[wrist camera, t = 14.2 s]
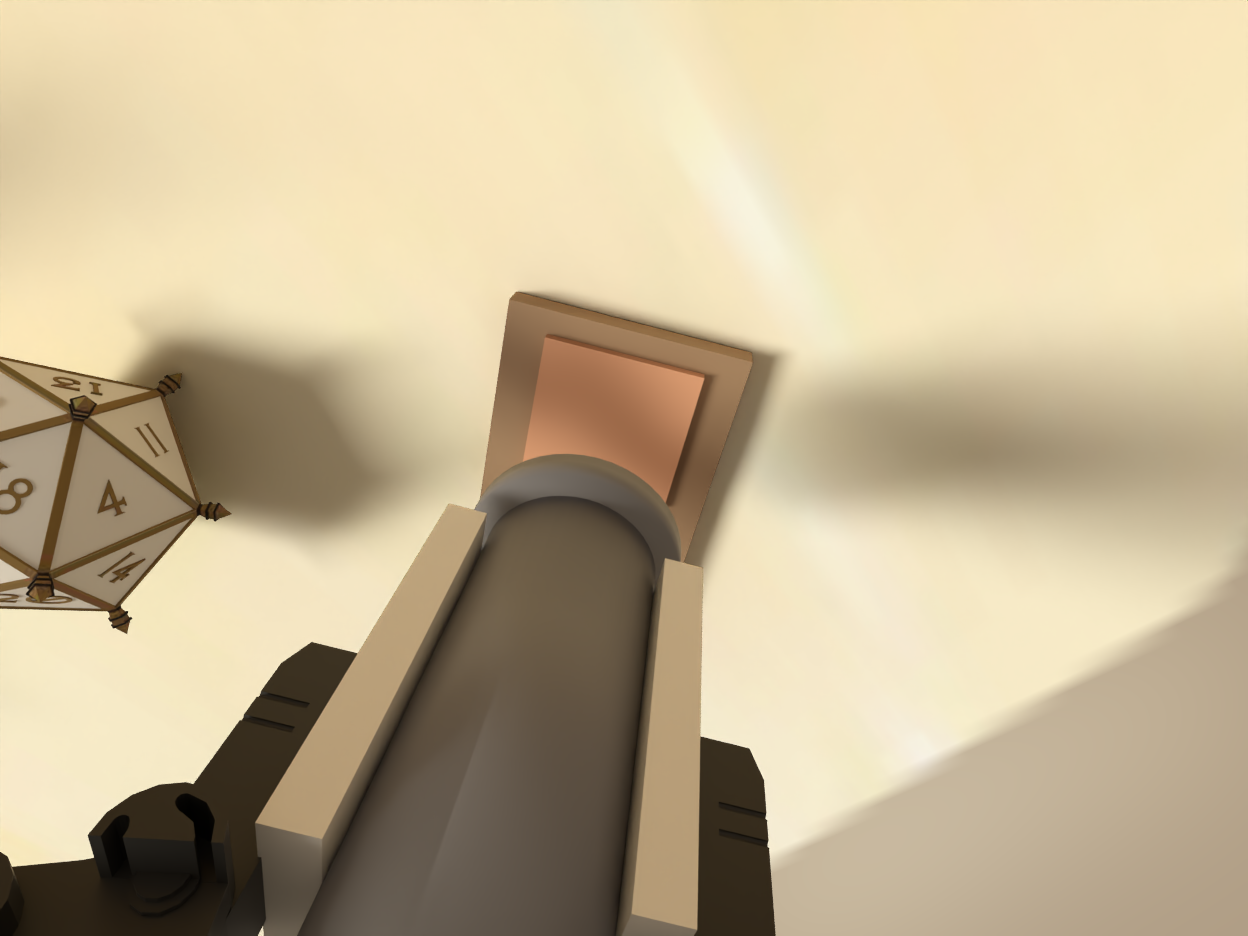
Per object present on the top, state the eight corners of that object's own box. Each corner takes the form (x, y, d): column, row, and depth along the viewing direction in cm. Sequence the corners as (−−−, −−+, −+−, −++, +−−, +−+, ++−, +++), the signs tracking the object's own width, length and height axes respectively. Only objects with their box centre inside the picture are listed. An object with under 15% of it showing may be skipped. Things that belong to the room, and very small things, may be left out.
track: (601, 791, 31) (597, 814, 30) (446, 753, 30) (437, 775, 29) (751, 352, 20) (753, 366, 19) (516, 291, 20) (506, 302, 19)
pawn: (652, 646, 16) (548, 1641, 6) (461, 598, 16) (21, 1527, 6) (708, 486, 14) (699, 1661, 4) (486, 429, 14) (-169, 1471, 4)
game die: (256, 381, 26) (306, 540, 20) (120, 539, 27) (125, 743, 21) (-26, 227, 20) (-91, 385, 13) (-195, 439, 21) (-337, 690, 14)
